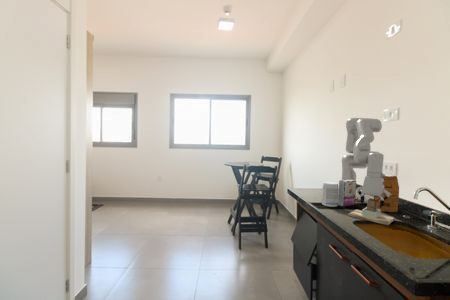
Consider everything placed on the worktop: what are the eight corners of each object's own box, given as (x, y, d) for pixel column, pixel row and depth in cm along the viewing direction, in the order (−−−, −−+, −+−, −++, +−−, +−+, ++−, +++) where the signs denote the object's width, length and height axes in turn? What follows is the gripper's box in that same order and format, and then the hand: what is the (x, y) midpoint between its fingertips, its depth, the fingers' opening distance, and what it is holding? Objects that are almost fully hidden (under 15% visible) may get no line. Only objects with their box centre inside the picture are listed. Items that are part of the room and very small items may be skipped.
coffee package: (370, 207, 178) (373, 173, 176) (390, 208, 177) (393, 174, 176) (378, 212, 168) (381, 176, 166) (399, 213, 167) (402, 177, 166)
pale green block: (366, 212, 160) (367, 206, 160) (380, 215, 156) (380, 209, 155) (361, 215, 154) (362, 209, 154) (375, 218, 149) (376, 212, 149)
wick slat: (369, 212, 158) (370, 198, 157) (375, 213, 156) (377, 199, 155) (366, 214, 154) (367, 199, 154) (373, 215, 152) (374, 200, 151)
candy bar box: (348, 203, 187) (350, 179, 185) (355, 205, 182) (357, 180, 181) (337, 204, 181) (338, 180, 180) (343, 206, 177) (345, 181, 176)
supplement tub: (340, 206, 178) (342, 183, 177) (331, 208, 173) (332, 184, 172) (327, 202, 186) (329, 181, 185) (318, 204, 181) (319, 182, 180)
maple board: (356, 211, 167) (356, 209, 166) (394, 220, 153) (394, 217, 153) (348, 215, 157) (348, 213, 157) (388, 225, 143) (388, 222, 143)
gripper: (393, 176, 150) (391, 207, 152) (360, 172, 162) (357, 200, 163) (390, 178, 145) (387, 210, 146) (355, 173, 157) (353, 203, 158)
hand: (371, 205), depth 155 cm, fingers open, 9 cm apart
